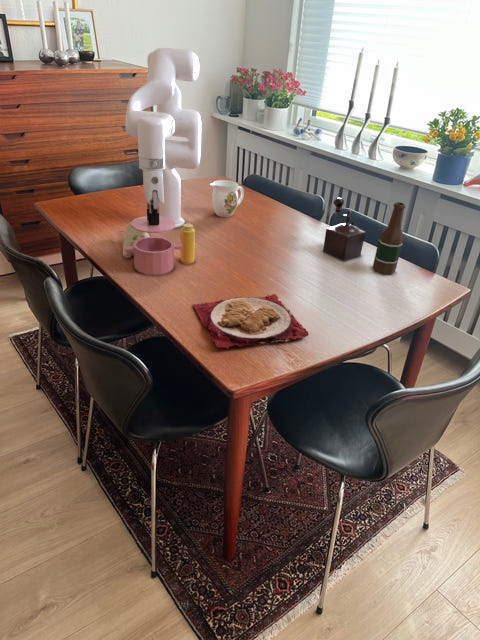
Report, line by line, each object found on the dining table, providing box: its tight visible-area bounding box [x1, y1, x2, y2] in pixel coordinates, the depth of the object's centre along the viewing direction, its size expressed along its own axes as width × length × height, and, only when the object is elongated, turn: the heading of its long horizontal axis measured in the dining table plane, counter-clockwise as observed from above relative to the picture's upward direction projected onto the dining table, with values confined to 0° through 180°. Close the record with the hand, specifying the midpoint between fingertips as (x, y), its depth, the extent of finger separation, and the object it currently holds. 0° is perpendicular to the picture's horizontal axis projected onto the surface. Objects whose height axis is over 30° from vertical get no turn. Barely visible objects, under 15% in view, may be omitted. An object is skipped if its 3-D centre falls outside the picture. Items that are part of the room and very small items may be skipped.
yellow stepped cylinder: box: [179, 223, 196, 264], centre depth 162 cm, size 5×5×13 cm
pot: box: [125, 236, 182, 276], centre depth 158 cm, size 13×18×8 cm
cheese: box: [122, 221, 151, 259], centre depth 168 cm, size 15×7×15 cm
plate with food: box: [192, 293, 310, 349], centre depth 134 cm, size 24×26×4 cm
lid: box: [130, 215, 176, 234], centre depth 151 cm, size 14×14×6 cm
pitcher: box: [209, 179, 245, 218], centre depth 204 cm, size 11×18×14 cm, turn 130°
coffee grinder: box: [322, 197, 366, 262], centre depth 178 cm, size 16×11×18 cm
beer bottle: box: [372, 201, 406, 276], centre depth 164 cm, size 8×8×24 cm
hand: (153, 222), depth 152 cm, fingers closed on lid, 2 cm apart
